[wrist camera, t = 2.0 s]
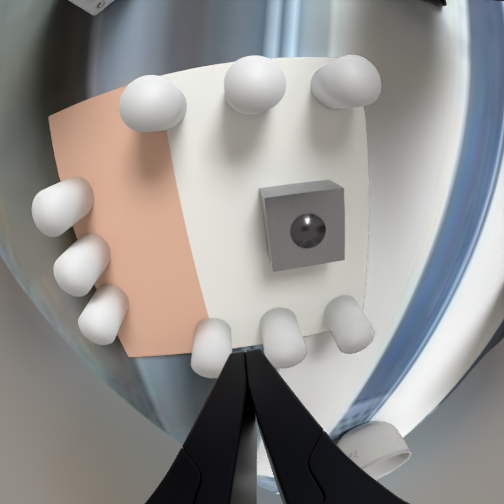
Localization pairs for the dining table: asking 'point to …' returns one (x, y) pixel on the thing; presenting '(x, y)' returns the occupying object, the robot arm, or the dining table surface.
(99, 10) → the skincare box
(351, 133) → the board
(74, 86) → the dining table surface
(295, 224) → the nut
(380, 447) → the teacup
